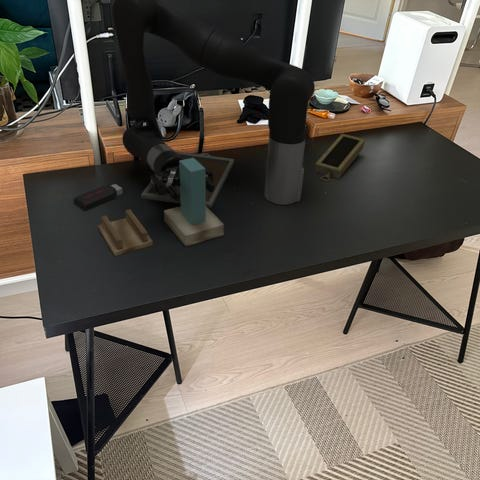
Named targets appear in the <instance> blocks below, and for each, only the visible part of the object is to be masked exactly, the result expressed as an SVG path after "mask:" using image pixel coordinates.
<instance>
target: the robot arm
mask: <svg viewBox="0 0 480 480" xmlns="http://www.w3.org/2000/svg"><path fill="white" fill-rule="evenodd" d="M111 14H112V15H111V16H112V21H113V26H114V31H115V33H116V34H115V35H116V38H117V39H116V40H117V43H118V49H119V52H120V57H121V62H122V68H123V73H124V79H125V94H126V105H127V106H126V107H127V115H128V116H129V117H130V118H131V119H133V120H136V121H137V120H138V121H145V125H140V126H131V127H129V128H126V129H125V131H123V133H122V138H121V139H122V145H123V147H124V148H125V150H126V151H127V152H128V153H129V154H130V155H132V156H133V157H135V158H138V159H139V160H142V161H145V163H147V165H148V166H149V167H150V169H151V170H152V171H153V172H154V174H151V175H150V182H151V185H152V187H153V188H154V190H155V191H156V192H157V194H158V195H160V196H161V195H163V194H164V193H166V194H167V195H169V196H170V197H171V198H172V199H173V200H176V201H180V193H179V192H178V191H177V189H176V188H175V187H176V186H178V187H179V186H180V167H179V161H180V160H184V159H183V158H182V157H181V156H180V155H179V154H178V153H177V152H178V151H176V150H175V149H174V148H172V147H171V146H169V145H168V144H167V143H166V142H165V141H163V134H162V131H161V129H160V125H159V122H158V119H157V115H156V110H155V94H154V92H155V91H154V84H153V81H152V76H151V74H150V71H149V68H148V65H147V62H146V58H145V53H144V51H145V50H144V40H145V38H144V37H145V33H147V34H150V35H154V36H156V37H159V38H161V39H163V40H166V41H167V42H169V43H171V44H173V45H174V46H175V47H177V48H178V49H179V50H180V52H182V53H183V54H184V55H185V56H186V57H187V58H188V59H189V60H190V61H191V62H193V63H195V64H196V65H197V66H199V67H201V68H204V69H205V70H207V71H210V72H211V73H214V74H216V75H218V76H221V77H225V78H229V79H234V80H238V81H245V82H248V83H249V82H250V83H253V84H256V85H259V86H260V87H263V88H264V89H266V90H268V91H269V97H268V110H267V111H268V113H267V115H268V116H267V120H268V121H267V126H268V129H269V133H268V146H267V156H266V157H267V158H266V159H267V160H266V172H265V182H264V183H265V184H264V198H265V199H266V200H267V201H268V202H270V203H271V204H275V205H281V206H282V205H284V206H285V205H292V204H294V203H297V202H301V197H302V191H303V189H302V188H303V182H304V174H305V167H304V166H303V163H304V156H305V149H306V141H307V133H308V129H307V128H308V127H307V126H306V124H307V123H306V122H307V115H308V106H309V102H310V101H311V99H312V98H313V95H314V93H315V88H316V87H315V81H314V79H313V77H312V75H311V74H310V73H309V72H308V71H307V70H305V69H303V68H301V67H299V66H297V65H293V64H290V63H287V62H285V61H282V60H280V59H277V58H274V57H272V56H268V55H267V54H265V53H264V52H261V51H259V50H257V49H255V48H254V47H252V46H251V45H248V44H247V43H245V42H242V41H240V40H239V39H236V37H235V38H234V37H233V36H231V35H229V34H227V33H225V32H223V31H221V30H219V29H217V28H215V27H212V26H210V25H208V24H206V23H204V22H202V21H200V20H197V19H195V18H192V17H189V16H188V15H185V14H183V13H181V12H179V11H178V10H175V9H174V8H173V7H171V6H169V5H167V4H166V3H164V2H163V1H162V0H114V1H113V4H112V7H111ZM201 165H202V166H203V167H204V168H205V181H206V189H207V190H208V191H209V192H210V193H212V192H214V183H213V172H212V171H211V170H209V169H208V168H207V167H205V166H204V165H203V164H201ZM156 175H157V176H158V177H156ZM161 182H163V183H166V185H164V186H163V185H162V183H161Z"/></svg>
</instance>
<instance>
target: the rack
mask: <svg viewBox="0 0 480 480" xmlns="http://www.w3.org/2000/svg"><path fill="white" fill-rule="evenodd" d="M124 212H125V213H124V214H125V218H121V219H117V220H114V221H110V219H109V217H108V216H107V215H102V216H100V219H101V224H98V225H97V230H98V231H99V232H100V234H101V236H102V237H103V239H104V240H105V242H106V244H107V245H108V247H109V249H110V250H111V252H112V253H113V254H112V255H114V257H117V256H120V255H123V254H127V253H130V252H134V251H137V250H140V249H145V248H147V247H151V246H153V245H154V242H153V239H152V238H151V237H150V235H149V234H148V232H147V230H146V228H145V227H144V226H143V224H141V221H140V220H139V219H138V218H137V217H136V215H135V214H134V213H133V211H132V210H131V209H130V208H129V209H126V210H125V211H124Z"/></svg>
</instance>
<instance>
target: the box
mask: <svg viewBox="0 0 480 480" xmlns="http://www.w3.org/2000/svg"><path fill="white" fill-rule="evenodd" d="M365 141H366V140H365V139H363V138H360V137H357V136H353V135H348V134H345V133H341V134H340V135H339V136H338V138H337V139H336V140H335V141H333V143H332V145H331V146H330V147H329V148H328V149H327V150H326V151H325V152H324V153H323V154H322V156H321V157H320V158H319V159H318V160H317V161H316V163H315V173H318V174H321V175H322V176H321V177H320V180H321V182H322V181H323V182H324V183H325V182H326V183H329V182H330V181H331V178H334V179H337V180H339V179H341V177H342V176H343V174H344V173H345V172H346V170H347V169H349V167H350V165H351V164H352V163H353V162H354V160H355V159H356V158H357V157H358V156H359V154H360V152H362V150H363V149H364V145H365Z"/></svg>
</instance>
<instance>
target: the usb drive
mask: <svg viewBox="0 0 480 480" xmlns="http://www.w3.org/2000/svg"><path fill="white" fill-rule="evenodd" d="M123 193H124V192H123V188H122V187H121V186H119V185H118V184H117V183H114V184H112V185H111V184H109V183H107V184H105V185H101V186H99V187H97V188H94V189H92V190H89V191H87V192H84V193H81V194H78V195H77V196H75V197H73V204H75V205H76V207H78V208H80V209H81V210H82V211H84V212H87V211H90V210H92V209H94V208H97V207H98V206H101V205H104V204H106V203H108V202H111V201H113V200H115V199H117V197H118V196H120V195H122V194H123Z"/></svg>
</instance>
